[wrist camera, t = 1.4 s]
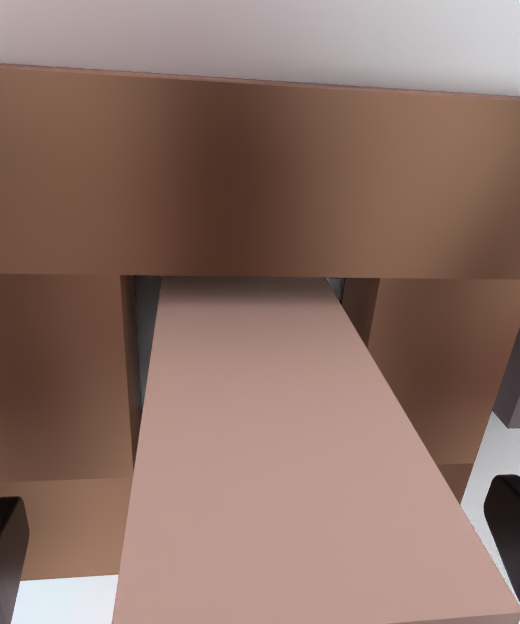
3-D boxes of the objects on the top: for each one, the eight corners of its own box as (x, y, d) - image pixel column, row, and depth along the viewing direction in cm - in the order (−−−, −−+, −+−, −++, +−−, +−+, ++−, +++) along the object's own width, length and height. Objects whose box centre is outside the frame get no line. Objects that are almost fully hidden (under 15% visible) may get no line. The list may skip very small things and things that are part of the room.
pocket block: (524, 97, 13) (593, 105, 11) (414, 495, 19) (443, 552, 17) (-66, 59, 11) (-132, 59, 9) (28, 514, 17) (3, 582, 15)
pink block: (319, 268, 14) (523, 612, 5) (304, 394, 16) (435, 796, 7) (163, 266, 14) (108, 646, 5) (166, 397, 16) (132, 836, 7)
